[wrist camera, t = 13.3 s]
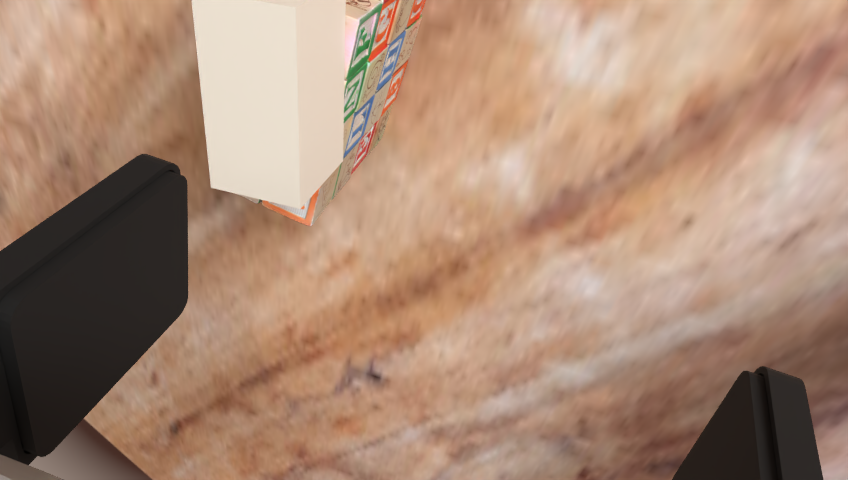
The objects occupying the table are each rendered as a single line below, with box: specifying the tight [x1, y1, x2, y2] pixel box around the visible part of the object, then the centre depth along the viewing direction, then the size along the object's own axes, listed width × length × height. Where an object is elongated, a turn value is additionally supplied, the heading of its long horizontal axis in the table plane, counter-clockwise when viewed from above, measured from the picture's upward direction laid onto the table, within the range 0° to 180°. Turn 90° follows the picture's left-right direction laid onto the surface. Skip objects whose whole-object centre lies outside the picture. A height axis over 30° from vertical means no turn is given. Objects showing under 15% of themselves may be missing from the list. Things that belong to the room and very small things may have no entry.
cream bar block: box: [192, 0, 346, 209], centre depth 32 cm, size 4×9×5 cm, turn 174°
